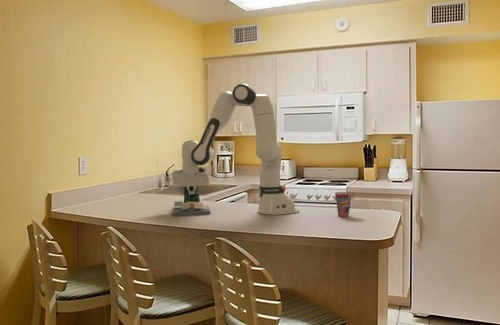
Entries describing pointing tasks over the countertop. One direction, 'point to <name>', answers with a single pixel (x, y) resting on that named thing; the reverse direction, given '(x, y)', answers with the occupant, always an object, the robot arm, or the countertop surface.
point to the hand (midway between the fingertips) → (191, 194)
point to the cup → (343, 203)
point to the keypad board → (190, 211)
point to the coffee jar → (191, 194)
